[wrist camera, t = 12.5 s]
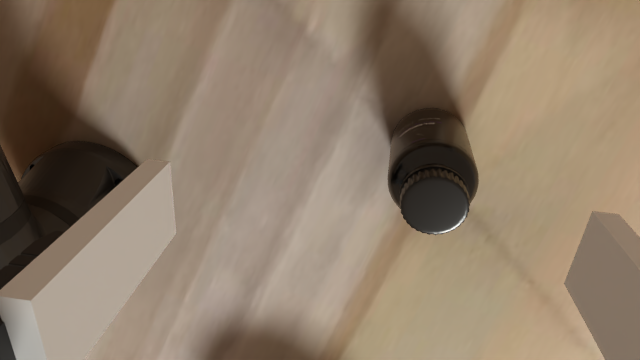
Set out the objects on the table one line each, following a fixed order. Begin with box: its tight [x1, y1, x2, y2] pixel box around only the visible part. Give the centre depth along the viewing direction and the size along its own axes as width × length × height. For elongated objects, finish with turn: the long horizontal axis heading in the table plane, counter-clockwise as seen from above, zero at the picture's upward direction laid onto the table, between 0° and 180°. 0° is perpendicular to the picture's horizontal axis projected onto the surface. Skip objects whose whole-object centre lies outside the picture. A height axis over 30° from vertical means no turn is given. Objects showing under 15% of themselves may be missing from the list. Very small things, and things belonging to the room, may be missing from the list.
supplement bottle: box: [388, 108, 479, 235], centre depth 37 cm, size 7×7×12 cm
